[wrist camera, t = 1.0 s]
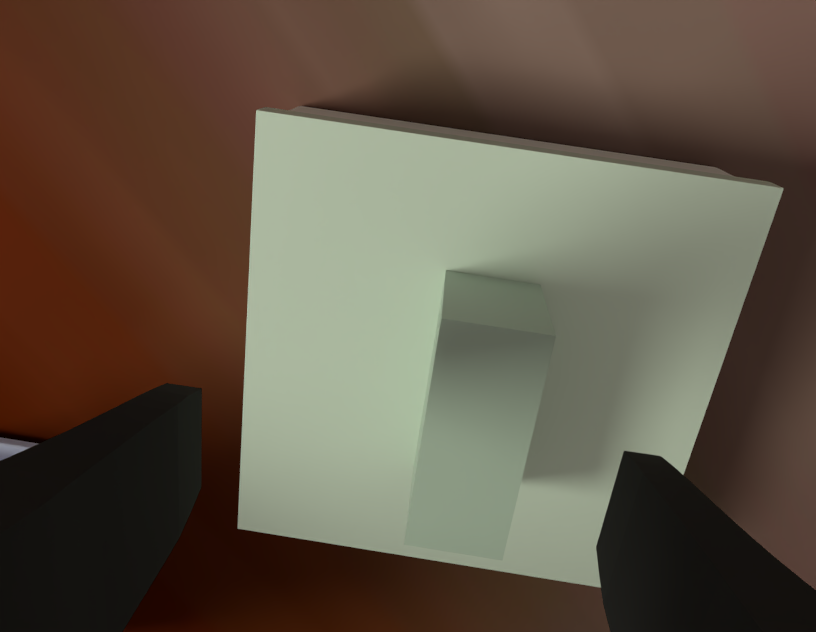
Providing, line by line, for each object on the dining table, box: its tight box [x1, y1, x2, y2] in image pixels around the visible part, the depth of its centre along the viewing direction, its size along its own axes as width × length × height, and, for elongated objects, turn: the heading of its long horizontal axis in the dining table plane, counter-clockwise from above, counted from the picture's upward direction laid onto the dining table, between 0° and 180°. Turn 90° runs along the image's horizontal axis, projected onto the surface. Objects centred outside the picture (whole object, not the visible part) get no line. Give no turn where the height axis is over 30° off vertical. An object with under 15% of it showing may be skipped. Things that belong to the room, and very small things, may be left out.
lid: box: [237, 107, 784, 588], centre depth 17 cm, size 12×12×5 cm
